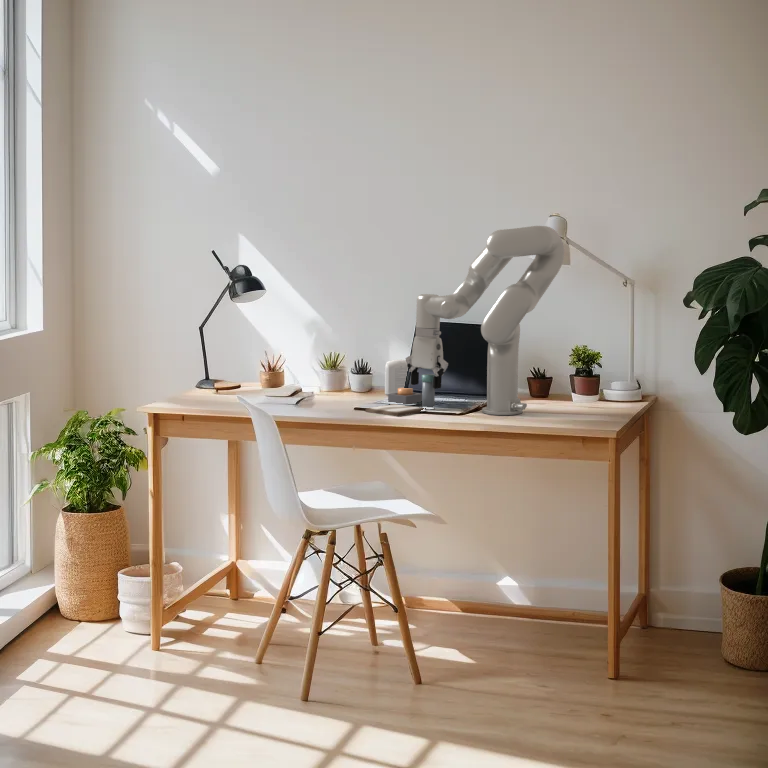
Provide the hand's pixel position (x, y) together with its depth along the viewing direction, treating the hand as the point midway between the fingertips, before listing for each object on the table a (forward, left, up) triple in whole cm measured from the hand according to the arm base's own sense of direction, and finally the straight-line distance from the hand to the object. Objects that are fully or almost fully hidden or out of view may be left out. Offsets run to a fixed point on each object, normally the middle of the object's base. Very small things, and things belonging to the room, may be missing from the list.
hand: (425, 386), depth 318 cm
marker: (-1, 0, -7) cm, 7 cm away
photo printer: (+29, -18, -8) cm, 35 cm away
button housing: (+11, -2, -7) cm, 14 cm away
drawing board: (+3, +11, -7) cm, 13 cm away
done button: (+11, -2, -4) cm, 12 cm away
